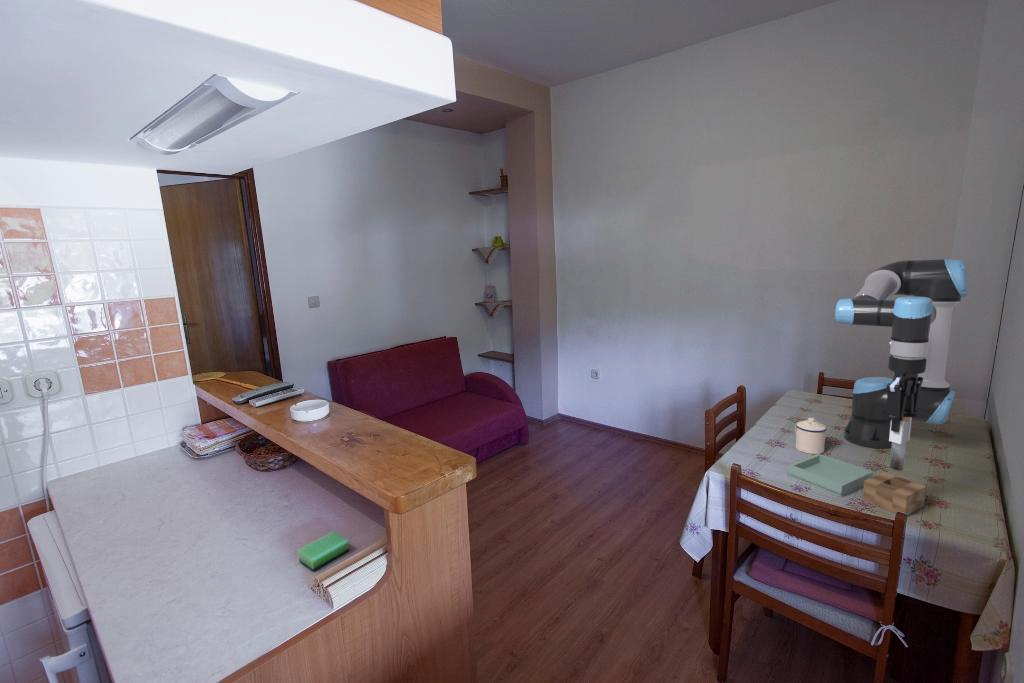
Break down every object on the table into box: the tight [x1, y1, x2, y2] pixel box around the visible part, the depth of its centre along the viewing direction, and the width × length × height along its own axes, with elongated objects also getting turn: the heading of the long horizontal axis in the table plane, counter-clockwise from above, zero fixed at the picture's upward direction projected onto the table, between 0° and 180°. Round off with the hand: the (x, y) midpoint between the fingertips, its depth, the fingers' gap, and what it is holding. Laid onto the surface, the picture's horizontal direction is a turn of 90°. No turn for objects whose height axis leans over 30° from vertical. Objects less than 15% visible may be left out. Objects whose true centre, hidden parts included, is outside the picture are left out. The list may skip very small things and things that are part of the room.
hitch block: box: [861, 471, 927, 517], centre depth 128 cm, size 10×10×6 cm
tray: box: [786, 453, 874, 498], centre depth 144 cm, size 16×16×4 cm
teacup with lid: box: [794, 417, 827, 455], centre depth 165 cm, size 12×9×12 cm
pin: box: [888, 415, 909, 472], centre depth 126 cm, size 3×3×15 cm
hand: (899, 440), depth 126 cm, fingers closed on pin, 3 cm apart
